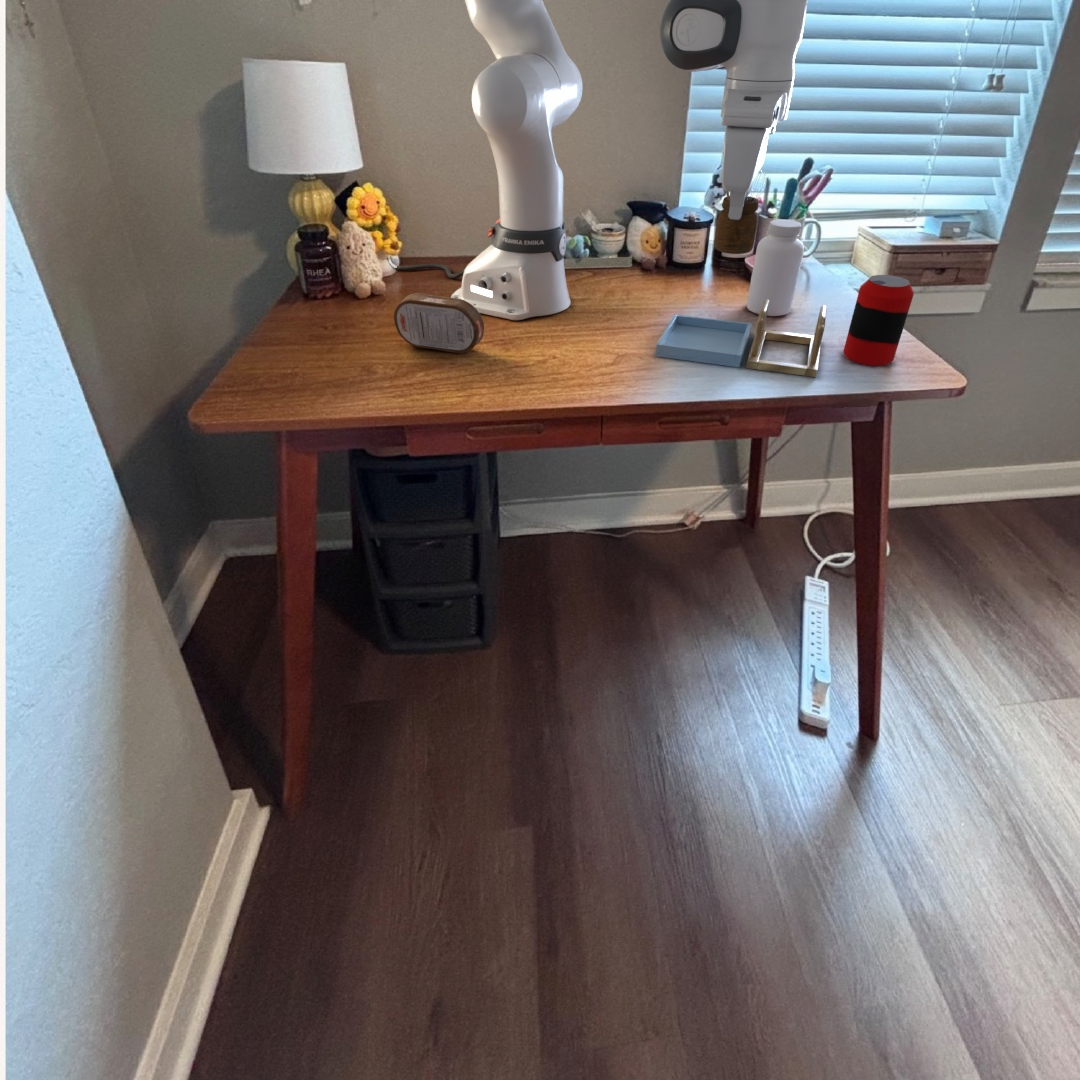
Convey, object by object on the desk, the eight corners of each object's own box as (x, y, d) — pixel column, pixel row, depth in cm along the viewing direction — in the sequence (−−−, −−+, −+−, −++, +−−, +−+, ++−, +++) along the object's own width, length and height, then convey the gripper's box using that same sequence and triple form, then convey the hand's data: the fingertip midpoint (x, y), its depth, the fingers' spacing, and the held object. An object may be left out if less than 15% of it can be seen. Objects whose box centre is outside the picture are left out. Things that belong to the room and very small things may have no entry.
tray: (655, 356, 115) (656, 344, 114) (672, 325, 126) (674, 314, 125) (739, 367, 112) (741, 355, 110) (749, 334, 122) (751, 323, 121)
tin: (486, 350, 117) (483, 299, 112) (478, 358, 115) (475, 305, 110) (403, 339, 121) (397, 289, 116) (394, 346, 119) (387, 295, 114)
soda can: (832, 352, 116) (851, 276, 109) (868, 344, 119) (889, 270, 111) (867, 370, 111) (889, 291, 103) (904, 361, 113) (928, 284, 106)
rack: (745, 368, 112) (753, 323, 107) (755, 335, 122) (763, 293, 118) (815, 377, 109) (826, 332, 104) (819, 343, 119) (830, 300, 115)
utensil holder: (748, 257, 106) (764, 166, 98) (706, 251, 108) (719, 162, 101) (757, 246, 110) (773, 159, 103) (716, 241, 112) (729, 155, 105)
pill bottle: (792, 318, 128) (811, 229, 119) (746, 315, 129) (761, 227, 120) (789, 303, 134) (807, 218, 125) (745, 300, 136) (759, 215, 127)
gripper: (741, 94, 106) (726, 195, 114) (721, 112, 91) (705, 227, 99) (785, 96, 104) (766, 199, 113) (772, 114, 89) (751, 232, 98)
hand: (737, 212), depth 106 cm, fingers closed on utensil holder, 5 cm apart
